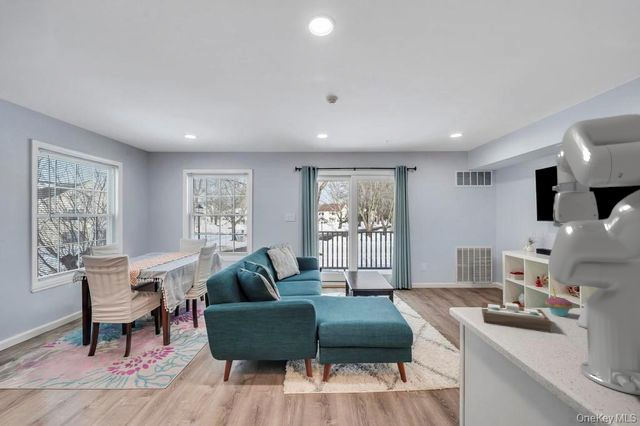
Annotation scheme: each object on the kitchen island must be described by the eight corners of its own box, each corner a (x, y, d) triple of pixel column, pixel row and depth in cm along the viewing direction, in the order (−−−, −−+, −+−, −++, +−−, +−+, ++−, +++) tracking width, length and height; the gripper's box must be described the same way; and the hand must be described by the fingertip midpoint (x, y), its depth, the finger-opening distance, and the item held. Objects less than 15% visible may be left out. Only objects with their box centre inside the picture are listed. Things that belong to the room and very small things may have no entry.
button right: (539, 319, 101) (538, 312, 101) (525, 317, 102) (525, 311, 103) (536, 316, 104) (536, 309, 104) (523, 314, 106) (523, 308, 106)
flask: (610, 331, 94) (609, 303, 95) (586, 330, 96) (584, 301, 96) (594, 324, 101) (593, 297, 102) (571, 322, 103) (570, 296, 103)
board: (551, 332, 94) (550, 317, 94) (484, 322, 103) (483, 309, 103) (541, 319, 106) (540, 306, 106) (482, 312, 116) (481, 300, 116)
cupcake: (554, 317, 109) (553, 287, 109) (540, 310, 117) (539, 283, 117) (578, 318, 107) (577, 288, 108) (563, 311, 115) (562, 283, 116)
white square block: (500, 314, 106) (500, 307, 106) (488, 313, 108) (488, 306, 108) (499, 311, 110) (499, 305, 110) (488, 310, 112) (487, 303, 112)
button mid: (519, 313, 103) (519, 306, 104) (506, 312, 105) (506, 305, 105) (517, 310, 107) (517, 304, 107) (505, 309, 109) (505, 302, 109)
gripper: (547, 189, 89) (549, 245, 88) (610, 185, 82) (613, 246, 81) (541, 191, 95) (543, 243, 95) (599, 188, 88) (601, 244, 88)
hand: (575, 244), depth 88 cm, fingers closed
